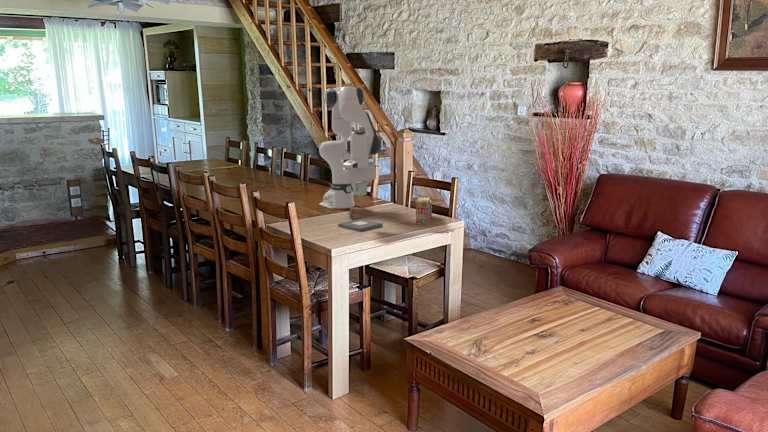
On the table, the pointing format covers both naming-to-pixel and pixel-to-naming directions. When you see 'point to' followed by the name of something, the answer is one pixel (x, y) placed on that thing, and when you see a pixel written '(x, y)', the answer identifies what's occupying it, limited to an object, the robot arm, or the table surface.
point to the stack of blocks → (423, 211)
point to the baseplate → (360, 224)
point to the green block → (360, 189)
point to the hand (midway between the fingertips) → (359, 190)
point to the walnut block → (356, 213)
